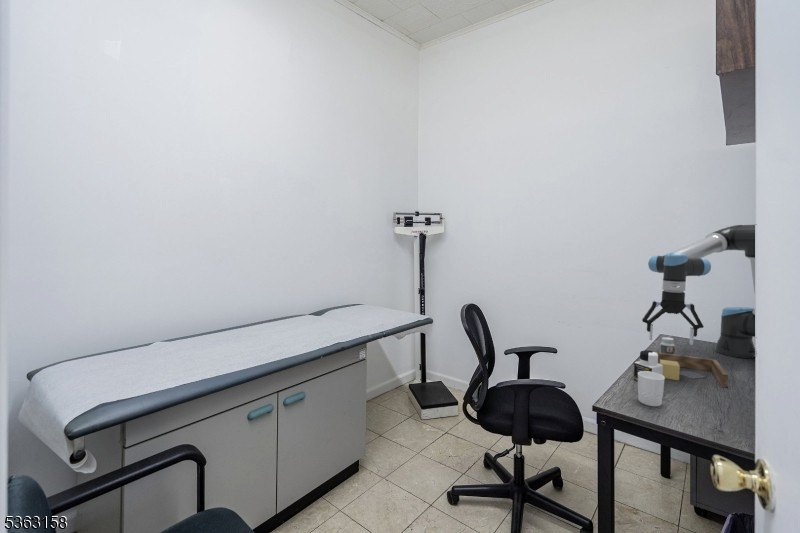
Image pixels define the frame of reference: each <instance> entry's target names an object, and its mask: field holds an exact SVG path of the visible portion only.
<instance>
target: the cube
mask: <svg viewBox="0 0 800 533" xmlns="http://www.w3.org/2000/svg"><path fill="white" fill-rule="evenodd" d="M660 364H661V365H663V374H662V375H663V376H664V377H665V379H668V380H674V381H680V374H679V372H681V371H680V369H681V367H680V366H679V364H678V362H676V361H668V360H661V359H660Z"/></svg>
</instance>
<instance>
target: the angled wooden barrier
mask: <svg viewBox="0 0 800 533" xmlns="http://www.w3.org/2000/svg"><path fill="white" fill-rule="evenodd" d="M655 352H656V353H657V354H658V364H660V359H661V360H668V361H676V362H678V364H679V366H680V368H683V369H692V370H700V371H706V372H711V373H712V375H713V376H714V377H715V379H716V380H717V381H718V383H719V385H720V386H721V387H722V388H728V382H729V374H728V373H727V372H726V371H725V369H724V368H723V367H722V365H721V364H720V363H719V361H718V360H717V359H714V358H707V357H706V358H705V357H697V356H689V355H682V354H667V353H660V351H659V352H658V351H655Z"/></svg>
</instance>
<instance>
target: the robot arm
mask: <svg viewBox="0 0 800 533" xmlns="http://www.w3.org/2000/svg"><path fill="white" fill-rule="evenodd" d="M755 225H756V224H736V225H731V226H727V227H724V228H721V229H718V230H716V231H713V232H711V233H708V234H707V235H705V237H704V238H703V239H700V240H697V241H696V242H693V243H690V244H687V245H686V246H683V247H681V248H678V249H677V250H673V251H671V252H670V253H666V254H664V255H654V256H652V257H650V258H649V260H648V269H649V270H650V271H651V272H653V273H659V274H663V278H662V286H661V287H662V290H663V291H662V293H661V301H656V300H652V303H651V306H650V308H649V309H648V310H647V312H646V313H645V315H644V316H643V317H642V319H641V321H642V323H645V324H646V331H647V332H649V337H648V338H649V341H653V334H654V333H653V331H654V330H653V329H654V324H653V323H654V322H656V320H657V319H659V318H660V317H661V316H662V315H664V314H665V313H667V314H674V315H678V314H679V315H681V316H682V318H684V319H685V320H686V322H688V323H689V324H690V325H691V327H690V328H689V329H690V330H689V343H688V344H690V345H691V346H693V345H694V338H696V337H697V336H698V329H703V328H704V324H703V322H702V321H701V319H700V317H699V315H698V313H697V312H696V309H695V304H693V303H689V304H688V303H685V298H686V293H685V291H686V282H687V277H701V276H705V275H708V274H709V273H710V272H711V269H712V264H711V262H710V261H709V260H708V259H707V258H706V257H707V256H709V255H712V254H714V253H722V252H724V251H725V252H726V251H743V252H744V256H745V258H747V259H749V260H750V266H751V267H750V268H751V275H752V284H753V289H754V290H753V292H754V294H755ZM659 306H660V307H661V309H660V310H659V311H657V312H656V313H655V314H654V315H653V316H652V317H650V316H651V315H652V314H653V312H654V311H655V310H656V308H658V307H659ZM685 308H687V310H689V311H690V312H691V315H692V316H693V318H694V319H695V321H696V323H697V324H695V323H694V322H693V321H692V319H691V318H690V317H689V316H688V315H687V314H686V313H685V312H684V309H685ZM755 309H756V308H754V307H746V306H745V307H744V306H740V307H739V306H733V307H731V306H729V307H725V308H723V309H722V311H721V316H720V317H721V322H720V335H719V338H718V340H717V342H716V344H715V346H714V351H715V352H716V353H718V354H721V355H724V356H728V357H735V358H739V357H741V359H755V358H754V355H755V349H756V347H755V344H754V341H753V337H754V338H756V337H755ZM751 357H752V358H751Z"/></svg>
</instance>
